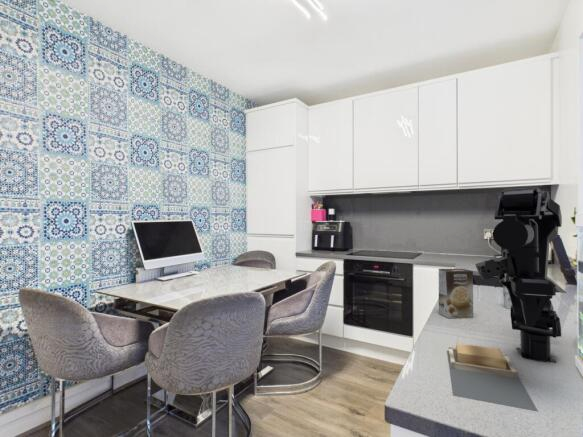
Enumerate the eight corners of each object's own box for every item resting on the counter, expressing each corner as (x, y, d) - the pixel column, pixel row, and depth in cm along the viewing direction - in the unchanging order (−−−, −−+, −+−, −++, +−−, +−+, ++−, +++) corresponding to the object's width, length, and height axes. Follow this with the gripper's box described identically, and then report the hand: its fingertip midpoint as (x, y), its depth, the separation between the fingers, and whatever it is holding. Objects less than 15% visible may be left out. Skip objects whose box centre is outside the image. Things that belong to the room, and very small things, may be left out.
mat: (446, 352, 79) (446, 350, 79) (508, 361, 74) (508, 358, 74) (453, 398, 59) (453, 395, 59) (538, 414, 53) (538, 411, 53)
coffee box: (447, 318, 106) (446, 271, 106) (438, 313, 112) (437, 268, 112) (474, 318, 106) (473, 270, 106) (463, 312, 112) (462, 268, 113)
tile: (500, 362, 72) (500, 348, 72) (506, 373, 67) (505, 359, 67) (456, 355, 76) (456, 343, 76) (458, 366, 70) (458, 352, 70)
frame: (448, 352, 78) (448, 347, 78) (507, 360, 73) (507, 355, 73) (451, 368, 69) (451, 362, 69) (517, 378, 64) (517, 372, 65)
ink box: (530, 307, 117) (529, 276, 117) (534, 311, 113) (533, 278, 113) (502, 305, 121) (502, 275, 121) (505, 309, 116) (505, 277, 116)
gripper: (472, 243, 79) (473, 305, 78) (484, 249, 62) (486, 328, 61) (526, 243, 74) (527, 309, 74) (555, 250, 57) (557, 336, 57)
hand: (523, 319), depth 67 cm, fingers open, 9 cm apart
